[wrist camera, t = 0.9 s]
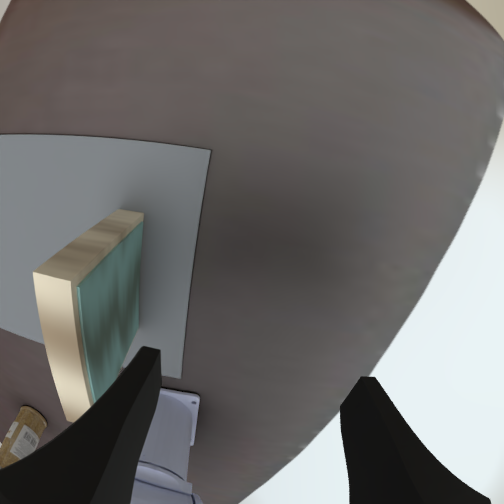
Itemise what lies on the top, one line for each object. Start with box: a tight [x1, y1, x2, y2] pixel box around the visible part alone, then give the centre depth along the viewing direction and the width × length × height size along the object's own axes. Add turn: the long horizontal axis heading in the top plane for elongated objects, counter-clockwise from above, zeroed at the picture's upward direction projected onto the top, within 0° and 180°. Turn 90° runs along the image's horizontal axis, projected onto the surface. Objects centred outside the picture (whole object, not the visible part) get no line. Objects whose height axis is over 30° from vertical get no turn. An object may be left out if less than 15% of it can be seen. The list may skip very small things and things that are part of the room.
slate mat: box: [0, 134, 211, 379], centre depth 22 cm, size 20×22×1 cm
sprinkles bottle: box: [0, 406, 47, 469], centre depth 24 cm, size 5×4×14 cm
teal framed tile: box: [33, 209, 144, 423], centre depth 17 cm, size 10×2×11 cm, turn 169°
